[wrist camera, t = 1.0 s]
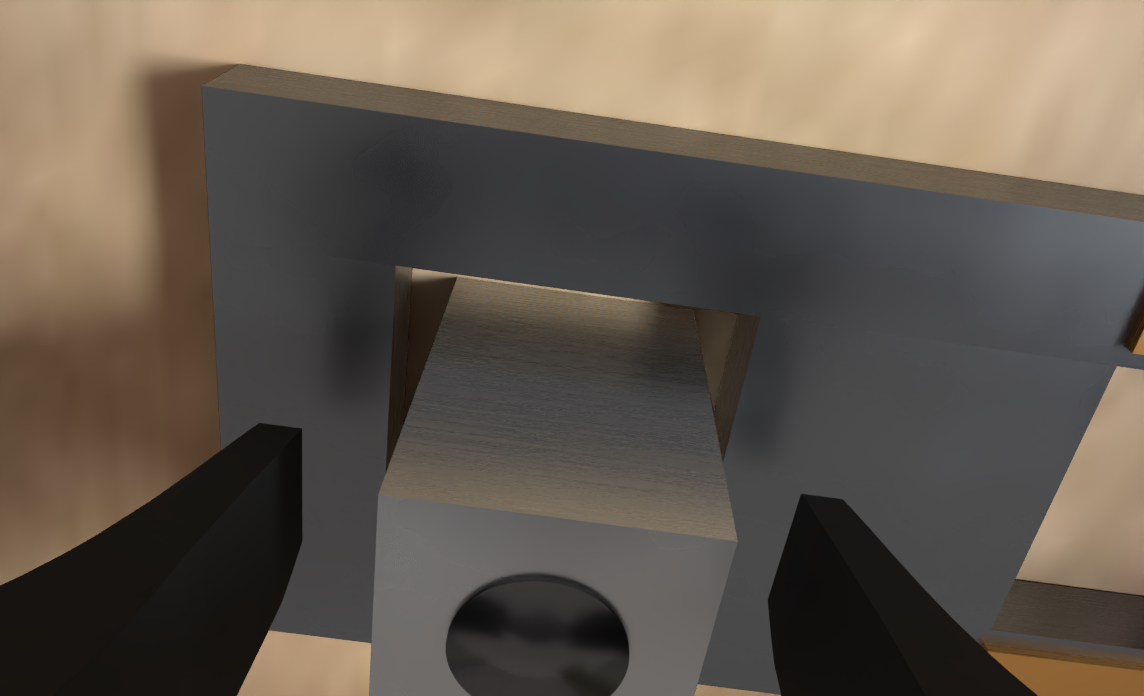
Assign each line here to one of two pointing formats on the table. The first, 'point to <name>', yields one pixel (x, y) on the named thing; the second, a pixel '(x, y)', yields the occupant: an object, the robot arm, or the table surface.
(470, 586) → the nut block
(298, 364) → the rail
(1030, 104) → the table surface
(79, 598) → the robot arm
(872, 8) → the table surface
